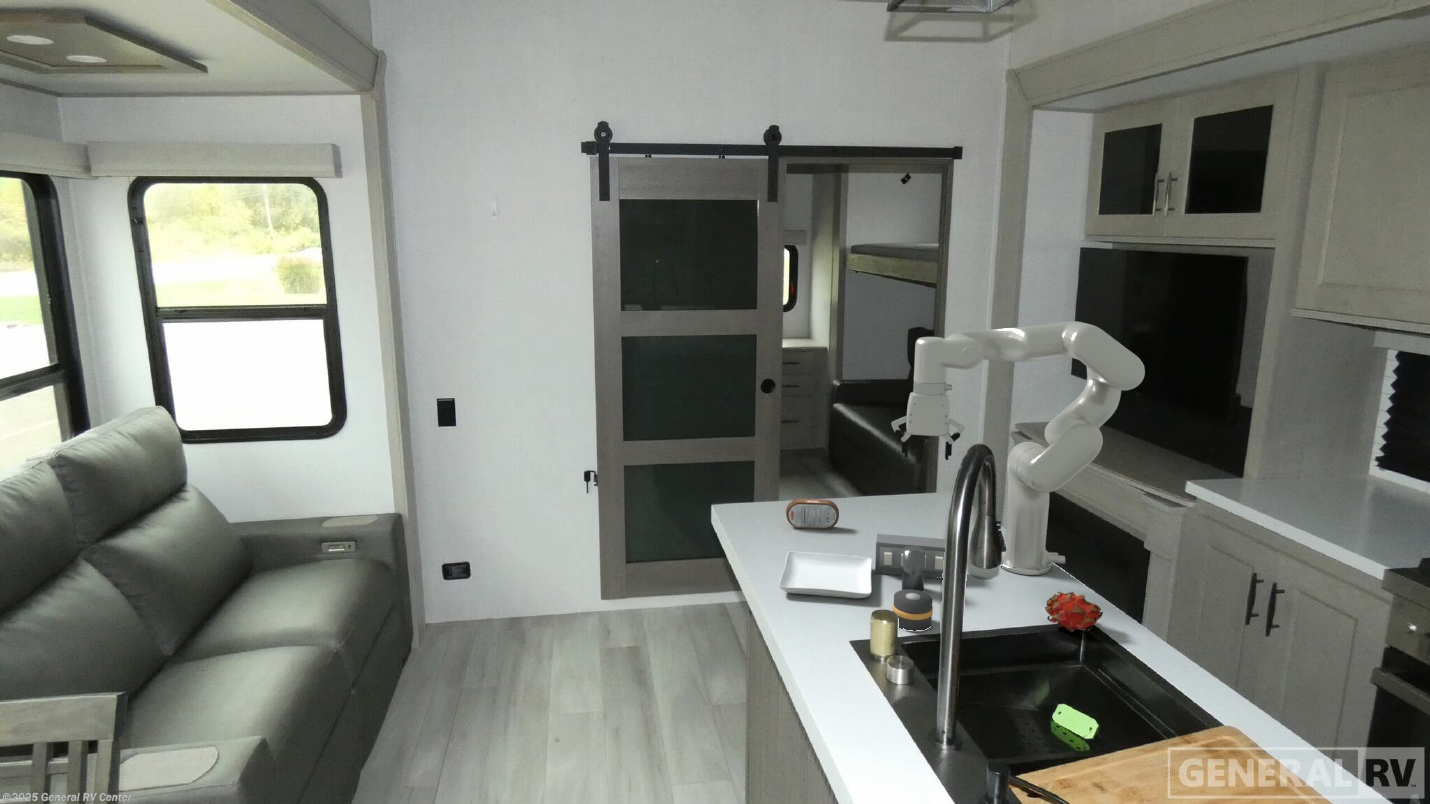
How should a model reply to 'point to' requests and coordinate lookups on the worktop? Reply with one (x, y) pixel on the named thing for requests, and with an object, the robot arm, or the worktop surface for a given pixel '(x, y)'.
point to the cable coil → (913, 609)
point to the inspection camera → (913, 568)
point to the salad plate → (827, 575)
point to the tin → (812, 513)
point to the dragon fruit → (1072, 611)
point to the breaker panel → (892, 554)
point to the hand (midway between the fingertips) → (926, 457)
